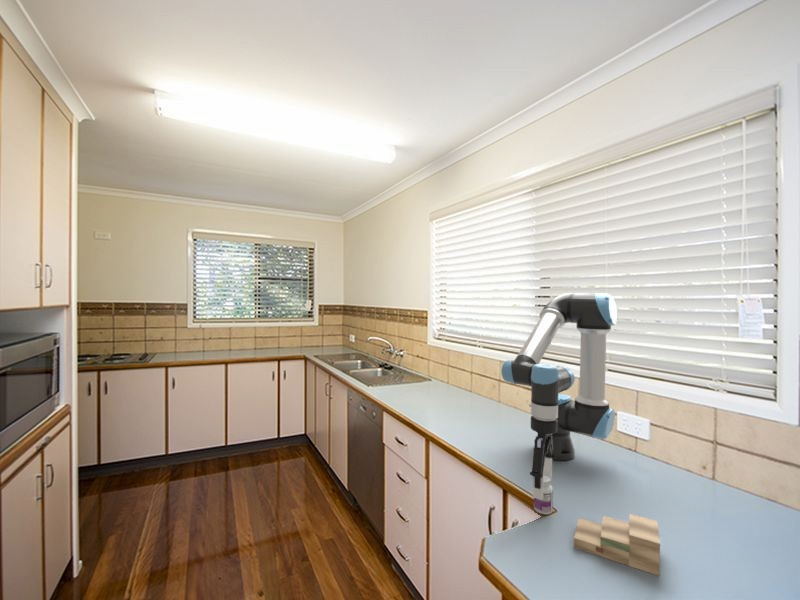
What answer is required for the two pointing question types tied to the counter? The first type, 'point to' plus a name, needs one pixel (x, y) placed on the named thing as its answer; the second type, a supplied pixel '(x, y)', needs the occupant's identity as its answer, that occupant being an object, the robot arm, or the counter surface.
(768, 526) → the counter surface
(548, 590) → the counter surface
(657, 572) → the stepped stand
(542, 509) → the pill bottle
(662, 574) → the counter surface
